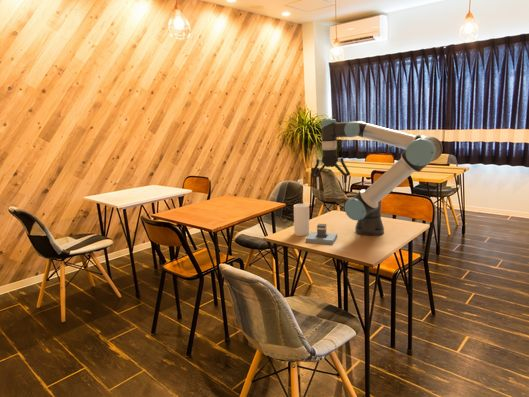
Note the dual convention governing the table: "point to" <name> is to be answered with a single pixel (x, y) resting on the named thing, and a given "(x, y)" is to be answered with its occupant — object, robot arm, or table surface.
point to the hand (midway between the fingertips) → (330, 189)
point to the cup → (301, 219)
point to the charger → (321, 230)
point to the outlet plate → (314, 239)
